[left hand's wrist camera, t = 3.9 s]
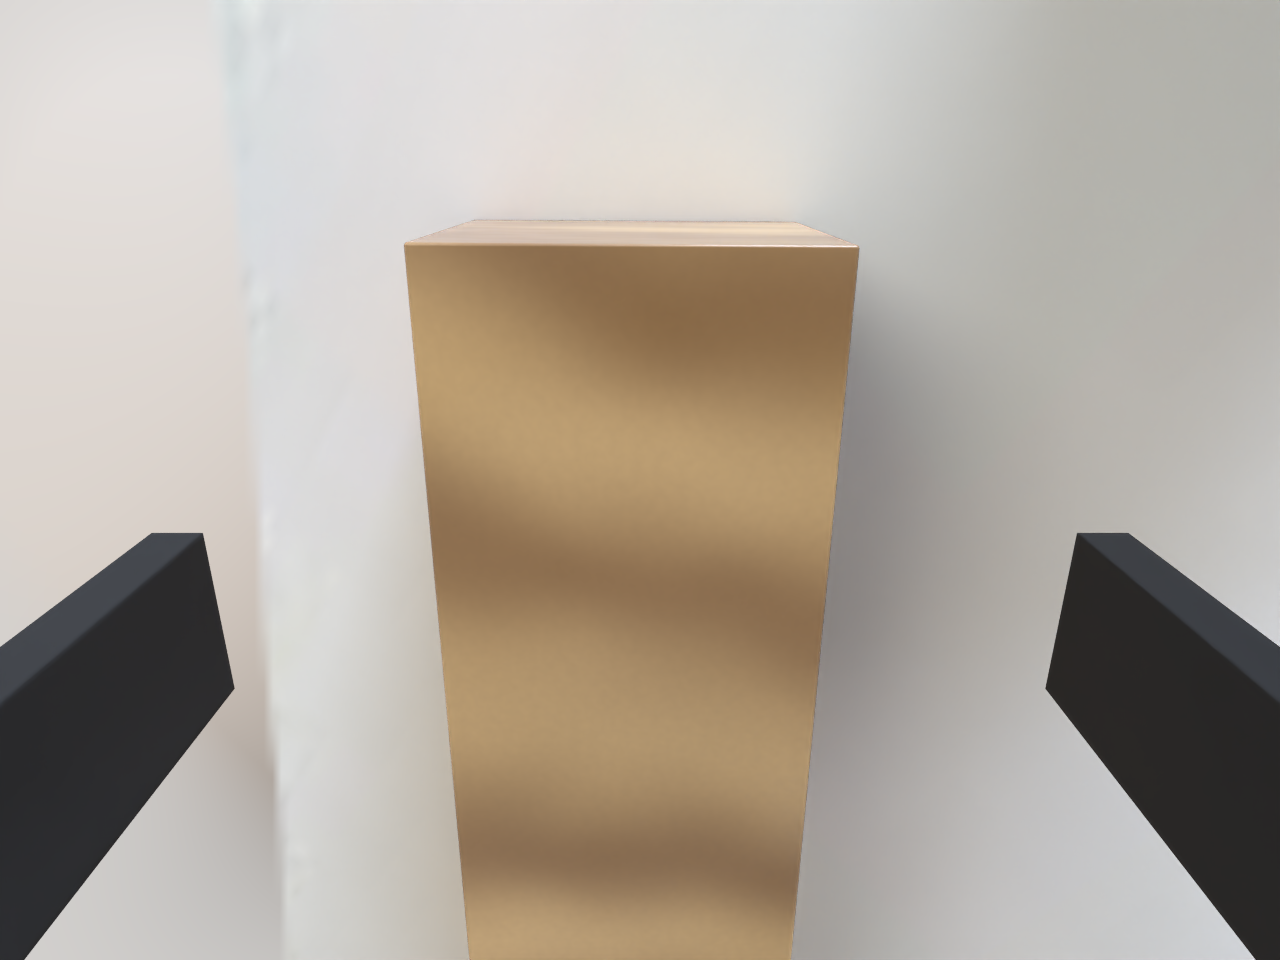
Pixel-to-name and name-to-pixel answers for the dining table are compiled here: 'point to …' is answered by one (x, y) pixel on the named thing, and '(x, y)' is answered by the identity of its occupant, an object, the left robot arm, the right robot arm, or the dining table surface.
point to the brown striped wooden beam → (630, 570)
